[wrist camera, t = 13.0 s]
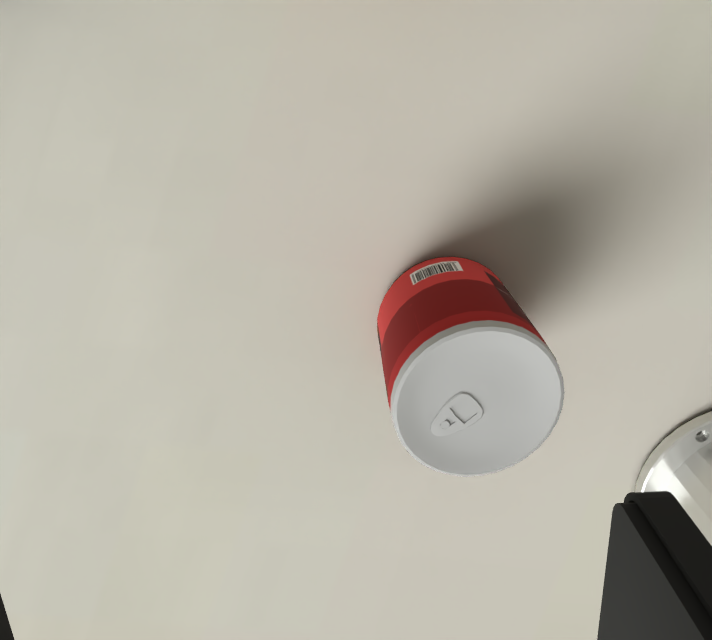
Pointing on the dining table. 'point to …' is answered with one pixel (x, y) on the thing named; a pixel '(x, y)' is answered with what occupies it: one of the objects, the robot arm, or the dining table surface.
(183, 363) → the dining table surface
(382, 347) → the canned food
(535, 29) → the dining table surface
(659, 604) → the robot arm
